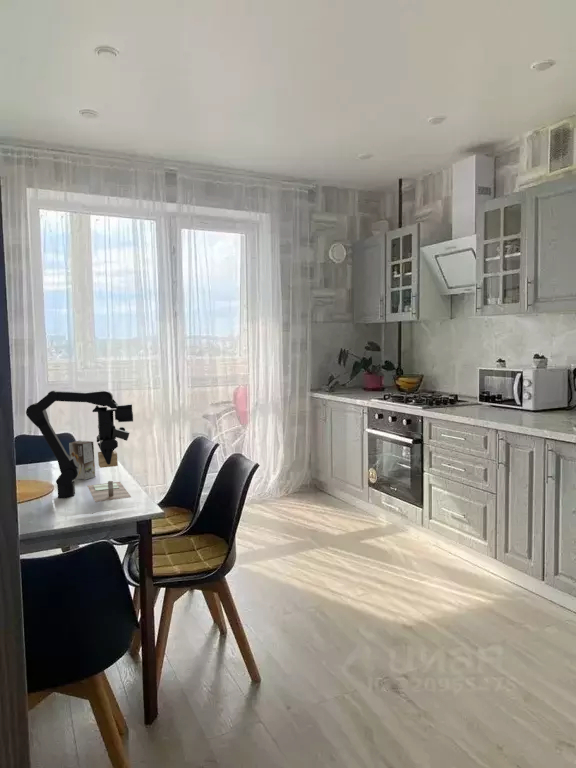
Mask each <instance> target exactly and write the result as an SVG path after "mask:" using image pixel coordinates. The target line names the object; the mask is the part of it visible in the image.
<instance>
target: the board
mask: <svg viewBox="0 0 576 768" xmlns="http://www.w3.org/2000/svg"><path fill="white" fill-rule="evenodd" d="M87 488H88V489H89V492H90V494H91V496H92V498H93V500H94V503H98V502H107V501H113V500H120V499H121V500H122V499H128V498H129V499H130V498H132V496H131V494H130V493H129V491H128V490H127V488H126V487H125V486H124V485H123V484H122V483H121V481H116V482H114V481H113V480H109V481H107V482H106V483H98V484H90V485H89V484H88V485H87Z"/></svg>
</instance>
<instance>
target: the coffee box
mask: <svg viewBox="0 0 576 768" xmlns="http://www.w3.org/2000/svg"><path fill="white" fill-rule="evenodd" d="M68 450H69V456H70V457H71V458H73V457H74V456H75V458H76V460H77V462H78V463H79V464H80V465H79V468H80V471H79V473H78V475H77V477H76V478H75V479H76V480H77V479H78V480H84V481H85V480H89V479H92V478H95V477H96V466H95V465H96V464H95V448H94V441H92V440H91V441H88V440H75V441H72V442H69V444H68Z"/></svg>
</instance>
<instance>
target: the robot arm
mask: <svg viewBox="0 0 576 768" xmlns="http://www.w3.org/2000/svg"><path fill="white" fill-rule="evenodd" d="M55 402H68V403H70V402H72V403H86V404H87V403H88V404H92V405H95V408H93V409H92V413H97V421H98V422H97V423H98V425H97V430H98V434H97V436H96V443H97V446H98V449H99V450H100V452H102V454H103V456H104V458H105V460H106V463H107V464H110V463H111V457H112V452H113V451H115V449H117V448H118V447H119V442H118V441H117V440H116V439H117V438H118V439H121V440H123V441H128V440H129V436H130V432H129V431H128V430H126V427H123V426H120V427H119V428H116V426H115V424H114V423H115V422H114V420H116V421H117V422H118V423H129V422H132V423H133V422H134V412H133V404H132V403H128V404H118V403H117V402H116V400H114V395H113V393H112V392H111V391H110V390H107V389H105V390H104V389H103V390H95V391H89V392H86V391H84V392H82V391H65V390H64V391H63V390H55V389H54V390H51V391H49V392H48V393H47V394H46V395H45V396H44V397H42V398H41V399H40V400H39V401H38V402H34V403H32V404H30V405H29V406H28V407H27V408H26V411H25V414H26V417H28V419H29V420H30V421H31V422H32V424H34V426H36V427H37V428H38V429H39V431H40V433H41V434H42V436H43V438H44V439H45V442H46V443H47V445H48V446H49V448H50V449H51V452H52V453H53V455H54V457H55V459H56V461H57V464H58V468H59V471H60V474H59V475H58V477H57V478H56V481H55V484H56V485H57V499H68V498H72V497H74V496H75V495H76V486H75V481H74V480H75V479H76V477H77V475H78V473H79V471H80V468H79V465H80V464H79V463H78V462H77V460H76V458H75V456H74V457H73V458H71V457H70V454H68V452H67V450H66V449H65V447H64V445H63V444H62V442H61V440H60V439H59V437H58V435H57V433H56V432H55V430H54V429H53V427H52V425H51V423H50V419H49V415H48V412H47V409H48V408H50V407H51V406H52V405H53V404H54V403H55ZM109 408H110V409H109ZM114 418H115V419H114Z"/></svg>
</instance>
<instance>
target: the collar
mask: <svg viewBox="0 0 576 768" xmlns="http://www.w3.org/2000/svg"><path fill="white" fill-rule="evenodd" d="M97 457H98V458H97V461H98V462H97V463H98V466H99V468H100V469H102V468H112V467H118V452H117V451H116V450H113V452H112V457H111V463H110V464H107V463H106V460H105V458H104V456H103V454H102V452H101V451H97Z"/></svg>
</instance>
